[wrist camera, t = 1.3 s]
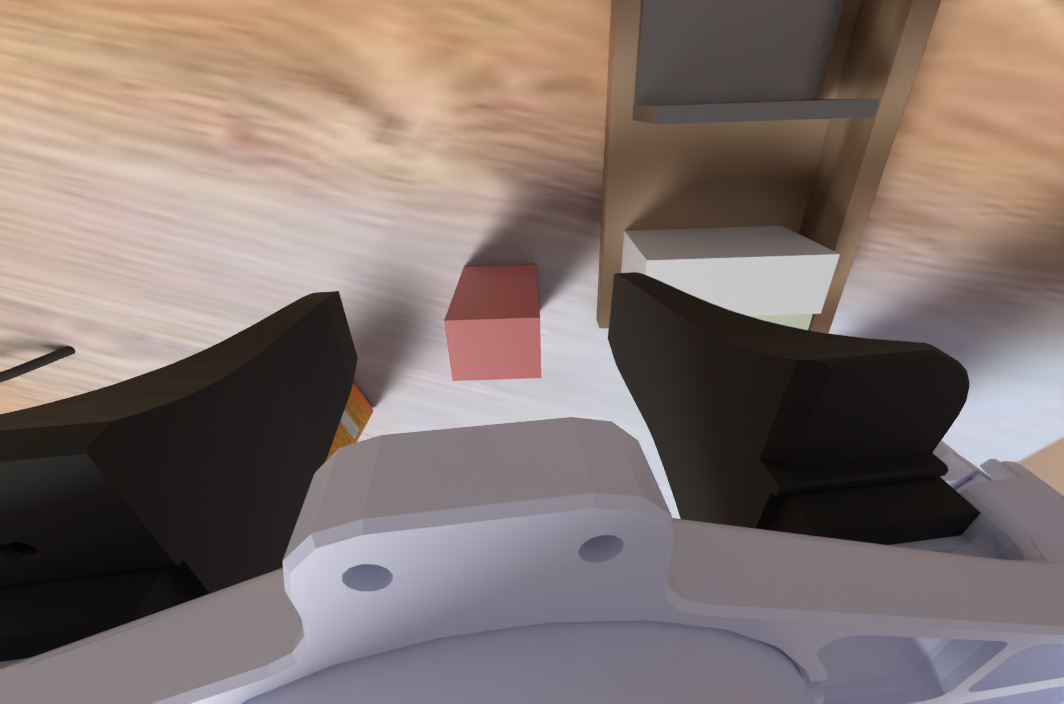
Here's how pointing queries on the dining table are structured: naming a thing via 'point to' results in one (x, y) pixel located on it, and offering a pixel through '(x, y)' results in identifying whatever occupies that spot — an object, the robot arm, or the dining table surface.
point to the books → (738, 268)
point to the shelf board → (762, 149)
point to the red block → (495, 323)
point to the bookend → (737, 62)
